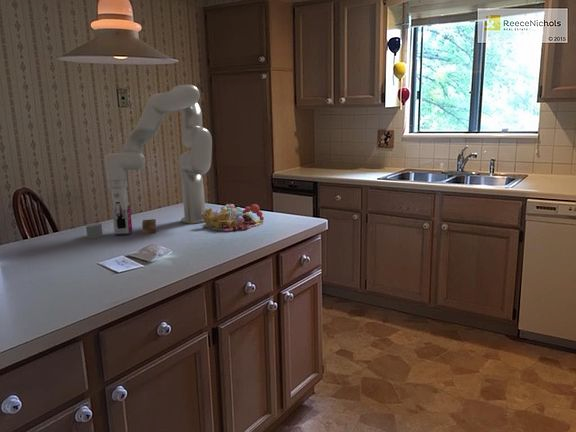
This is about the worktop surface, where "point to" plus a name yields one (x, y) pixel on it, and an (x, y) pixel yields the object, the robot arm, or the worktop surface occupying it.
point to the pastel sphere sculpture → (232, 218)
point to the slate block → (94, 230)
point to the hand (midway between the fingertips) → (123, 225)
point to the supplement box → (127, 221)
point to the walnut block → (149, 226)
